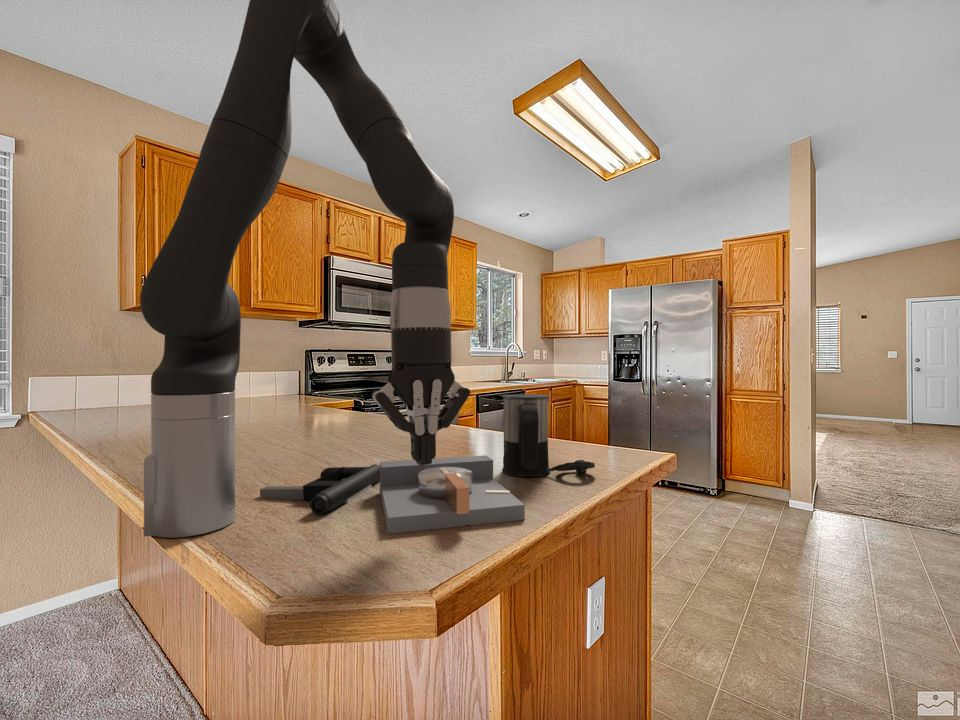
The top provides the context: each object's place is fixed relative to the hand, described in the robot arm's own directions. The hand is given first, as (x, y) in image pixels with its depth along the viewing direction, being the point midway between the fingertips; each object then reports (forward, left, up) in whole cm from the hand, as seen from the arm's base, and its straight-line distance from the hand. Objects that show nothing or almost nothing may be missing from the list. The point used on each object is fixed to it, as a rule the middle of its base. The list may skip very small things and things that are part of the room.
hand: (423, 463), depth 57 cm
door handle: (-14, +20, -9) cm, 26 cm away
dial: (+5, +5, -6) cm, 9 cm away
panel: (+5, +9, -8) cm, 13 cm away
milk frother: (+27, +22, -9) cm, 36 cm away
